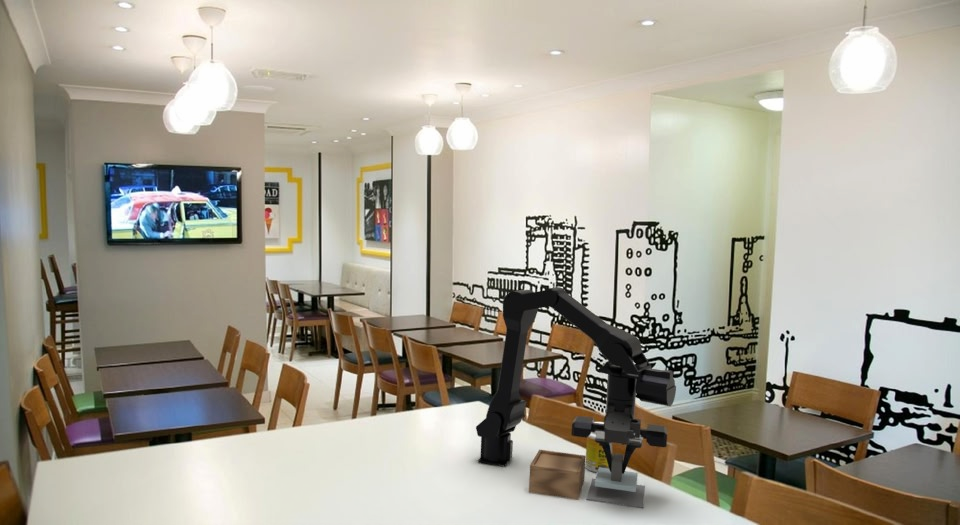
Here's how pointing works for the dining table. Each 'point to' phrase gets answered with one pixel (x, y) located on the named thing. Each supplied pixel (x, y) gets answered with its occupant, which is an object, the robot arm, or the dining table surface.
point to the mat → (616, 495)
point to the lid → (616, 476)
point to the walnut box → (557, 474)
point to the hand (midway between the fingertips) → (617, 472)
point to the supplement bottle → (595, 454)
